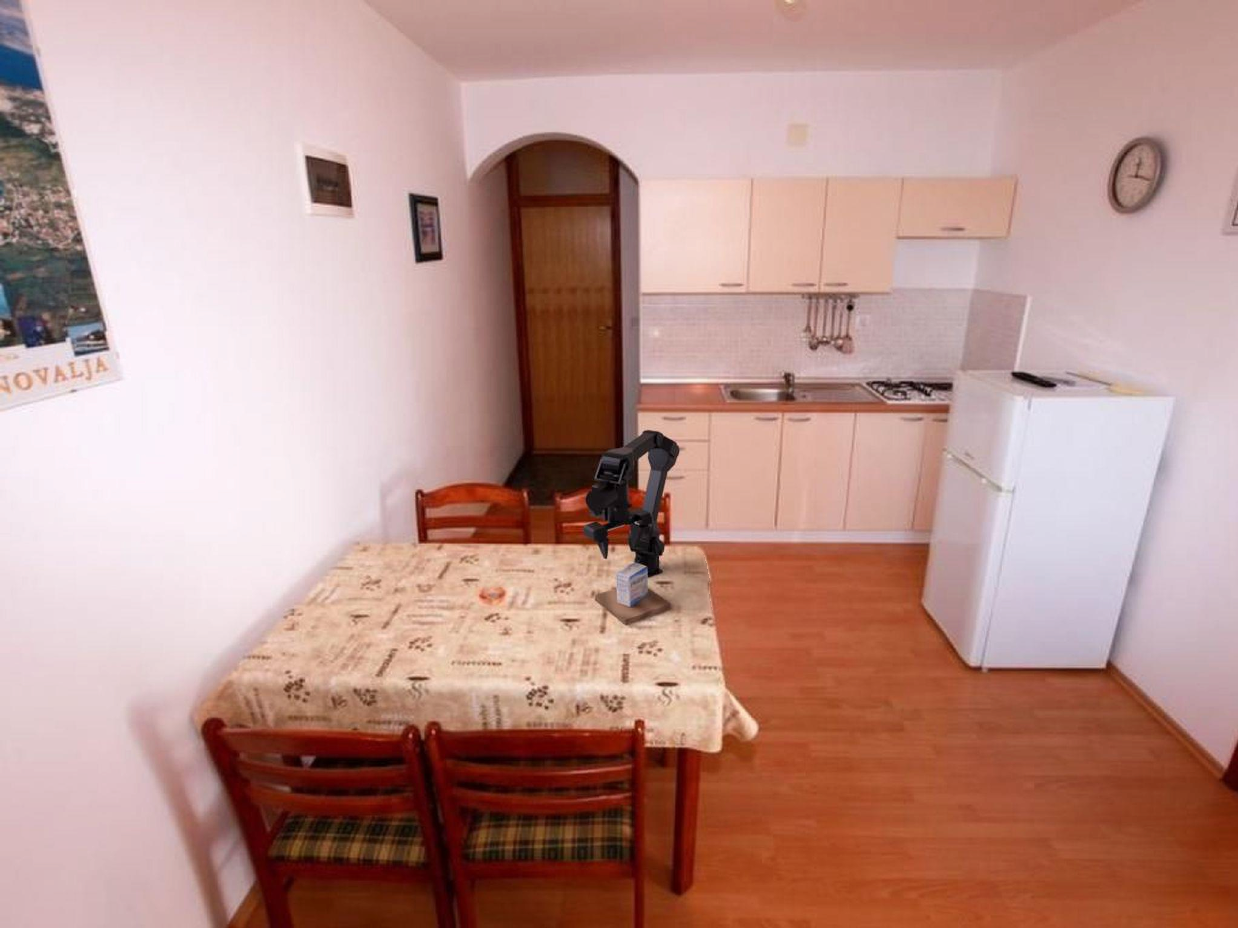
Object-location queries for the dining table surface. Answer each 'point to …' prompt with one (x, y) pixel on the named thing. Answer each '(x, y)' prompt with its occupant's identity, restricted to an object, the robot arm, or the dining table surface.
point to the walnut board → (637, 611)
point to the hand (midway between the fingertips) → (619, 553)
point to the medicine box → (632, 584)
